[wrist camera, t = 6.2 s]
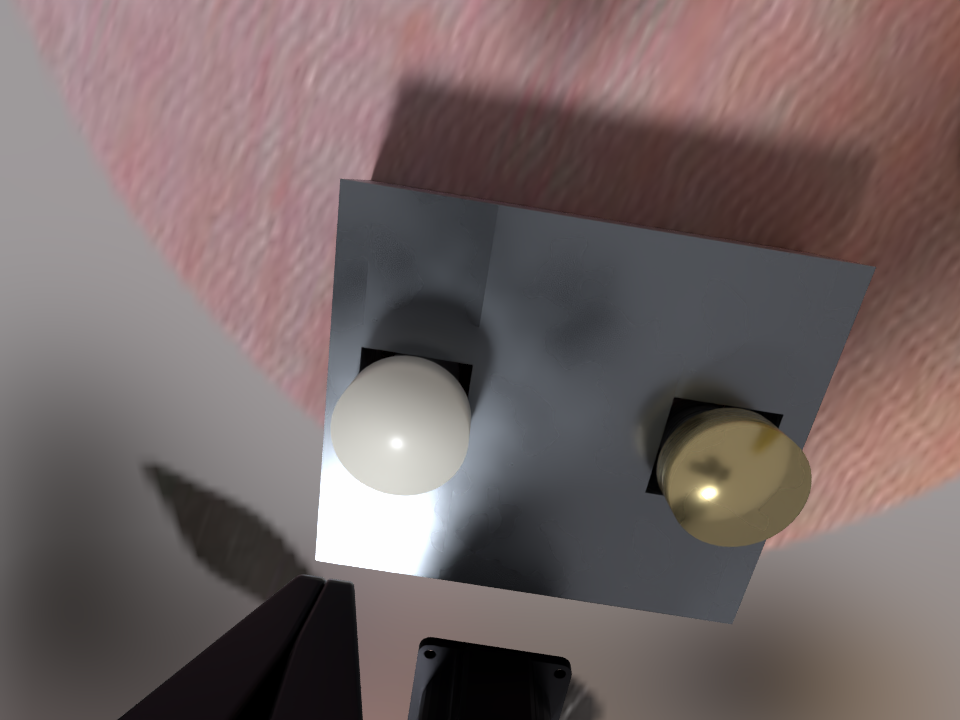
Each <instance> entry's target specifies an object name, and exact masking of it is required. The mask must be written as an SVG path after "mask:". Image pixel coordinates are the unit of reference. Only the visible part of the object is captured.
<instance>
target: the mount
mask: <svg viewBox="0 0 960 720" xmlns="http://www.w3.org/2000/svg"><path fill="white" fill-rule="evenodd" d="M875 268H876V267H874V266H869V265H864V264H860V263H855V262H850V261H845V260H841V259H836V258H831V257H826V256H822V255H817V254H812V253H807V252H802V251H795V250H789V249H783V248H777V247H771V246H765V245H759V244H753V243H747V242H741V241H735V240H729V239H723V238H717V237H711V236H704V235H698V234H692V233H686V232H680V231H674V230H668V229H662V228H656V227H650V226H644V225H638V224H632V223H626V222H620V221H614V220H607V219H601V218H595V217H589V216H583V215H577V214H571V213H565V212H559V211H553V210H547V209H541V208H535V207H529V206H523V205H516V204H510V203H504V202H498V201H492V200H486V199H480V198H474V197H468V196H462V195H456V194H450V193H444V192H438V191H432V190H426V189H419V188H413V187H407V186H401V185H395V184H389V183H383V182H377V181H371V180H355V179H340V193H339V209H338V224H337V239H336V255H335V270H334V285H333V301H332V316H331V332H330V347H329V362H328V378H327V393H326V409H325V424H324V439H323V440H324V441H323V456H322V471H321V486H320V502H319V516H318V532H317V547H316V560H318V561H325V562H331V563H337V564H344V565H350V566H357V567H363V568H370V569H376V570H384V571H390V572H396V573H402V574H409V575H416V576H422V577H428V578H435V579H442V580H448V581H454V582H461V583H468V584H474V585H480V586H487V587H494V588H500V589H507V590H513V591H520V592H526V593H532V594H539V595H545V596H552V597H558V598H565V599H571V600H578V601H584V602H591V603H597V604H604V605H610V606H617V607H623V608H630V609H636V610H643V611H649V612H656V613H662V614H669V615H676V616H682V617H689V618H695V619H702V620H708V621H715V622H721V623H728V624H732V623H733V621H734V618H735V616H736V613H737V611H738V608H739V606H740V603H741V601H742V598H743V596H744V593H745V591H746V588H747V586H748V583H749V581H750V579H751V576H752V574H753V571H754V569H755V566H756V564H757V561H758V559H759V556H760V554H761V551H762V549H763V546H764V544H765V541H766V540H764V541H761V542H758V543H755V544H751V545H746V546H739V547H724V546H717V545H712V544H709V543H706V542H703V541H701V540H699V539H697V538H695V537H694V536H692V535H691V534H689V533H688V532H687V531H686V530H685V529H683V527H682V526H681V525H680V524H679V523H678V521H677V519H676V518H675V516H674V514H673V512H672V510H671V508H670V506H669V505H668V503H667V501H666V499H665V497H664V495H663V493H662V491H661V489H660V487H659V484H658V479H657V462H658V458H659V455H660V452H661V450H660V449H659V445H660V442H661V439H662V435H663V432H664V429H665V425H666V422H667V419H668V415H669V412H670V409H671V405H672V402H673V399H674V397H677V398H683V399H690V400H696V401H702V402H708V403H715V404H721V405H725V408H740V409H745V410H749V411H752V412H755V413H758V414H759V415H761V416H763V417H765V418H766V419H768V420H769V421H770V422H771V423H773V424H774V425H775V426H776V427H777V428H778V429H780V430H781V431H782V432H783V433H784V434H785V435H787V436H788V437H789V438H790V439H791V440H792V441H793V442H795V443H796V444H797V445H798V446H799V447H800V449H801V450H803V447H804V445H805V442H806V440H807V437H808V435H809V432H810V430H811V427H812V425H813V422H814V420H815V417H816V415H817V412H818V410H819V407H820V405H821V402H822V400H823V397H824V395H825V392H826V390H827V388H828V385H829V383H830V380H831V378H832V375H833V373H834V370H835V368H836V365H837V363H838V360H839V358H840V355H841V353H842V350H843V348H844V345H845V343H846V340H847V338H848V335H849V333H850V330H851V328H852V325H853V323H854V321H855V318H856V316H857V313H858V311H859V308H860V306H861V303H862V301H863V298H864V296H865V293H866V291H867V288H868V286H869V283H870V281H871V278H872V276H873V273H874V271H875ZM382 350H383V351H390V352H396V353H402V354H408V355H415V356H421V357H427V358H433V359H440V360H446V361H452V362H458V363H465V364H471V365H473V367H472V374H471V380H470V386H469V392H468V401H469V404H470V409H471V427H470V435H469V443H468V449H467V453H466V456H465V459H464V461H463V463H462V465H461V466H460V468H459V470H458V471H457V472H456V473H455V475H454V476H453V477H452V478H451V479H450V480H449V481H447V482H446V483H444V484H443V485H442V486H440V487H438V488H436V489H434V490H432V491H429V492H427V493H423V494H419V495H412V496H397V495H390V494H385V493H382V492H379V491H376V490H374V489H371V488H369V487H367V486H366V485H364V484H362V483H361V482H359V481H358V480H357V479H355V478H354V477H353V476H352V475H351V474H350V473H349V472H348V471H347V470H346V469H345V467H344V466H343V465H342V464H341V462H340V460H339V459H338V457H337V455H336V452H335V450H334V447H333V444H332V440H331V418H332V414H333V411H334V408H335V406H336V404H337V402H338V400H339V399H340V397H341V396H342V394H343V393H344V392H345V390H346V389H347V388H348V386H349V385H350V384H351V382H352V381H353V380H354V379H355V377H356V376H357V375H358V374H359V373H360V372H361V371H362V370H363V369H365V368H366V367H367V366H369V365H370V364H372V363H374V362H376V361H378V360H381V358H382Z"/></svg>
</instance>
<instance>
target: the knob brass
mask: <svg viewBox="0 0 960 720" xmlns="http://www.w3.org/2000/svg"><path fill="white" fill-rule="evenodd" d="M659 448H660V450H661V452H660V455H659V458H658V462H657V479H658V484H659V487H660V489H661V491H662V493H663V495H664V497H665V499H666V501H667V503H668V505H669V506H670V508H671V510H672V512H673V514H674V516H675V518H676V519H677V521H678V523H679V524H680V525H681V526H682V527H683V529H685V530H686V531H687V532H688V533H689V534H691V535H692V536H694V537H695V538H697V539H699V540H701V541H703V542H706V543H709V544H712V545H717V546H724V547H739V546H746V545H751V544H755V543H758V542H761V541H764V540H766V539H768V538H770V537H772V536H774V535H776V534H778V533H779V532H781V531H782V530H783V529H785V528H786V527H787V526H788V525H789V524H790V523H792V522H793V521H794V519H795V518H796V517H797V516H798V515H799V513H800V512H801V510H802V509H803V507H804V505H805V503H806V501H807V499H808V496H809V493H810V489H811V469H810V466H809V462H808V460H807V458H806V456H805V454H804V453H803V451H802V450H801V449H800V447H799V446H798V445H797V444H796V443H795V442H793V441H792V440H791V439H790V438H789V437H788V436H787V435H785V434H784V433H783V432H782V431H781V430H780V429H778V428H777V427H776V426H775V425H774V424H773V423H771V422H770V421H769V420H768V419H766V418H765V417H763V416H761V415H759V414H758V413H755V412H752V411H749V410H745V409H740V408H724V407H723V406H722V405H721V404H715V403H708V402H702V401H696V400H690V399H683V398H677V397H674V399H673V402H672V405H671V409H670V412H669V415H668V419H667V422H666V425H665V429H664V432H663V435H662V439H661V442H660V445H659Z"/></svg>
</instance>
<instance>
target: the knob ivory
mask: <svg viewBox="0 0 960 720" xmlns="http://www.w3.org/2000/svg"><path fill="white" fill-rule="evenodd" d="M459 375H460V370H459V364H458V362H452V361H446V360H440V359H433V358H427V357H421V356H415V355H408V354H402V353H396V354H395V356H393V357H387V358H384V359H381V360H378V361H376V362H374V363H372V364H370V365H369V366H367V367H366V368H365V369H363V370H362V371H361V372H360V373H359V374H358V375H357V376H356V377H355V379H354V380H353V381H352V382H351V384H350V385H349V386H348V388H347V389H346V390H345V392H344V393H343V394H342V396H341V397H340V399H339V400H338V402H337V404H336V406H335V408H334V411H333V414H332V418H331V440H332V444H333V447H334V450H335V452H336V455H337V457H338V459H339V460H340V462H341V464H342V465H343V466H344V467H345V469H346V470H347V471H348V472H349V473H350V474H351V475H352V476H353V477H354V478H355V479H357V480H358V481H359V482H361V483H362V484H364V485H366V486H367V487H369V488H371V489H374V490H376V491H379V492H382V493H385V494H390V495H397V496H412V495H419V494H423V493H427V492H429V491H432V490H434V489H436V488H438V487H440V486H442V485H443V484H444V483H446V482H447V481H449V480H450V479H451V478H452V477H453V476H454V475H455V473H456V472H457V471H458V470H459V468H460V466H461V465H462V463H463V461H464V459H465V456H466V453H467V449H468V443H469V435H470V427H471V409H470V404H469V401H468V398H467V395H466V393H465V391H464V389H463V388H462V386H461V385H460V383H459V382H458V381H459Z"/></svg>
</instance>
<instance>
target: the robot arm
mask: <svg viewBox="0 0 960 720" xmlns="http://www.w3.org/2000/svg"><path fill="white" fill-rule="evenodd" d="M429 650H433V651H429ZM560 669H561V670H560ZM571 675H572V672H571V665H570V662H569V661H568V660H567V659H566V658H563V657H559V656H552V655H545V654H539V653H532V652H525V651H519V650H513V649H506V648H499V647H493V646H486V645H480V644H473V643H466V642H459V641H453V640H447V639H440V638H434V637H428V638H425V639H423V640H422V641H421V642H420V645H419V651H418V657H417V663H416V670H415V676H414V682H413V689H412V695H411V702H410V709H409V715H408V720H559V718H560V714H561V711H562V707H563V704H564V700H565V697H566V693H567V690H568V686H569V683H570V679H571ZM118 720H363V716H362V701H361V685H360V669H359V654H358V638H357V622H356V606H355V590H354V584H353V583H352V582H350V581H344V580H337V579H329V580H327V581H326V580H325V579H324V578H323V577H317V576H311V575H304V574H302V575H299V576H297V577H295V578H294V579H293V580H291V581H290V582H289V583H288V584H286V585H285V586H284V587H283V588H281V589H280V590H279V591H278V592H276V593H275V594H274V595H273V596H271V597H270V598H269V599H268V600H266V601H265V602H264V603H263V604H261V605H260V606H259V607H258V608H256V609H255V610H254V611H253V612H251V614H249V615H248V616H246V617H245V618H244V619H243V620H241V621H240V622H239V623H238V624H236V625H235V626H234V627H233V628H231V629H230V630H229V631H228V632H227V633H225V634H224V635H223V636H221V637H220V638H219V639H218V640H216V641H215V642H214V643H213V644H211V645H210V646H209V647H208V648H206V649H205V650H204V651H203V652H201V653H200V654H199V655H198V656H196V657H195V658H194V659H193V660H191V661H190V662H189V663H188V664H186V665H185V666H184V667H183V668H181V669H180V670H179V671H178V672H176V673H175V674H174V675H173V676H171V677H170V678H169V679H168V680H166V681H165V682H164V683H163V684H162V685H160V686H159V687H158V688H156V689H155V690H154V691H153V692H151V693H150V694H149V695H148V696H146V697H145V698H144V699H143V700H141V701H140V702H139V703H138V704H136V705H135V706H134V707H133V708H131V709H130V710H129V711H128V712H126V713H125V714H124V715H123V716H121V717H120V718H119V719H118Z"/></svg>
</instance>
